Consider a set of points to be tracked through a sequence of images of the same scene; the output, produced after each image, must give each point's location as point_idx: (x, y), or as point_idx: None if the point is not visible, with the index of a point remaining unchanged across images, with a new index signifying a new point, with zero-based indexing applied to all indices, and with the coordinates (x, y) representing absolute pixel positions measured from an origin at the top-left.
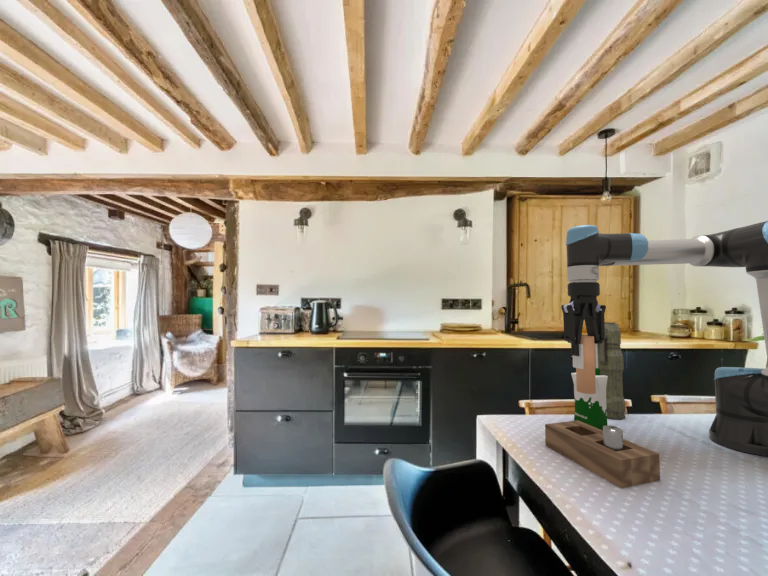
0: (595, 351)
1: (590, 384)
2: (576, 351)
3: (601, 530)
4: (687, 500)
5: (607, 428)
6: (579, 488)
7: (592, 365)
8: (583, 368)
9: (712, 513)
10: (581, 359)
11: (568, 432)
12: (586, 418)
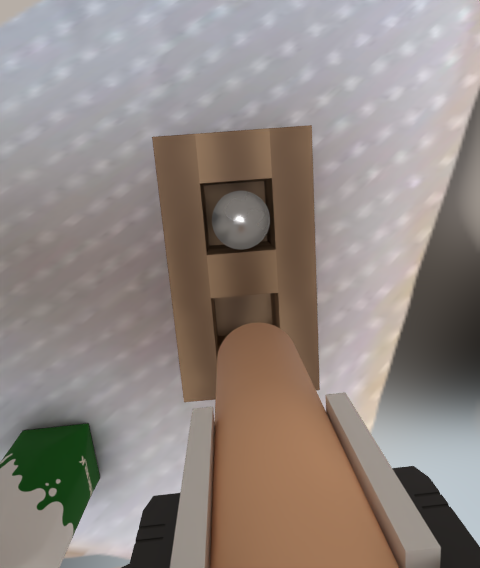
0: (208, 498)
1: (275, 340)
2: (433, 498)
3: (460, 34)
4: (169, 78)
5: (258, 224)
6: (374, 175)
7: (272, 393)
8: (329, 395)
9: (166, 24)
10: (368, 434)
11: (297, 321)
12: (83, 458)
